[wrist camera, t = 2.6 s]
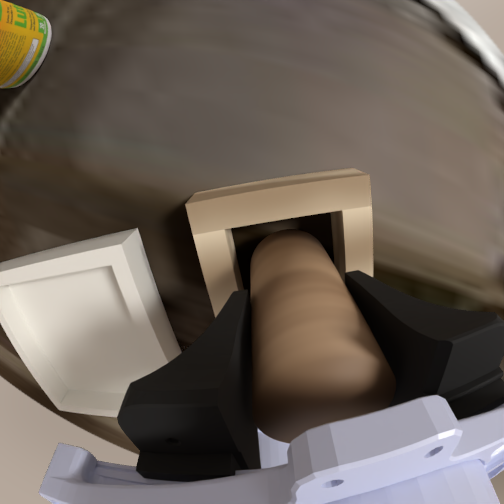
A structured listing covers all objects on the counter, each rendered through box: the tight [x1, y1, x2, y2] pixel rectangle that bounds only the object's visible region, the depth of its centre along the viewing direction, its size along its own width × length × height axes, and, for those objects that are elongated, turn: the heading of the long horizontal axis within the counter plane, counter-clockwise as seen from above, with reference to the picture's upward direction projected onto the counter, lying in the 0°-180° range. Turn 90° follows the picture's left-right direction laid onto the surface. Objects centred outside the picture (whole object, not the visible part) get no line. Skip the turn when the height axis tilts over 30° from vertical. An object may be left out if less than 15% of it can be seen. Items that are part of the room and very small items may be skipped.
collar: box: [185, 168, 373, 318], centre depth 16 cm, size 8×8×2 cm
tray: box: [0, 228, 182, 417], centre depth 18 cm, size 14×14×2 cm
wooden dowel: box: [250, 229, 396, 444], centre depth 11 cm, size 4×4×9 cm
